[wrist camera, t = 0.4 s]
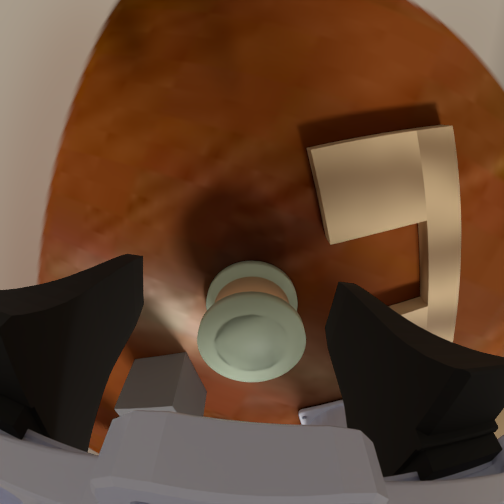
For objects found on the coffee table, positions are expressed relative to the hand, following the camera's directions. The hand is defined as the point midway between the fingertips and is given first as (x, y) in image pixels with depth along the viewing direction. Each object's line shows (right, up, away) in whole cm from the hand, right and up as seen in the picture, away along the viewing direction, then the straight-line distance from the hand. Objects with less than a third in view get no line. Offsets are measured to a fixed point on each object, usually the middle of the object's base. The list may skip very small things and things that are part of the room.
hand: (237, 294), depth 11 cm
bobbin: (0, -2, +11) cm, 12 cm away
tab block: (-7, -10, +15) cm, 19 cm away
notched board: (+11, +1, +10) cm, 15 cm away
